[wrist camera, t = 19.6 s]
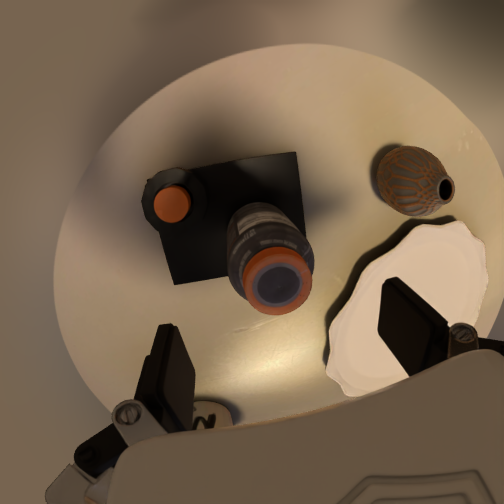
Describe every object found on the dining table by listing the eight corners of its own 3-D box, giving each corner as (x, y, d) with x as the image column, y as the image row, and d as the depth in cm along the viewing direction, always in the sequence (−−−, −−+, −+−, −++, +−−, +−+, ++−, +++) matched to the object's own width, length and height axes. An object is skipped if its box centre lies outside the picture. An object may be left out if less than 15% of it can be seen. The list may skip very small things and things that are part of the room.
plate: (398, 173, 26) (410, 176, 23) (497, 262, 32) (506, 267, 30) (282, 376, 34) (285, 388, 32) (410, 392, 40) (416, 400, 38)
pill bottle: (266, 271, 27) (289, 343, 17) (215, 242, 26) (207, 305, 15) (300, 222, 26) (347, 270, 15) (248, 188, 24) (264, 217, 14)
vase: (425, 177, 26) (477, 191, 18) (391, 219, 27) (440, 245, 19) (392, 132, 24) (446, 132, 16) (355, 176, 25) (404, 188, 17)
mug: (214, 385, 34) (213, 445, 25) (264, 429, 39) (271, 477, 30) (159, 404, 35) (150, 457, 26) (214, 444, 40) (214, 488, 31)
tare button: (155, 189, 22) (150, 191, 21) (187, 181, 22) (184, 183, 21) (162, 221, 23) (158, 226, 22) (194, 214, 24) (191, 218, 22)
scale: (143, 175, 24) (135, 178, 22) (293, 147, 24) (299, 146, 22) (171, 282, 28) (167, 293, 26) (306, 258, 28) (313, 267, 26)
